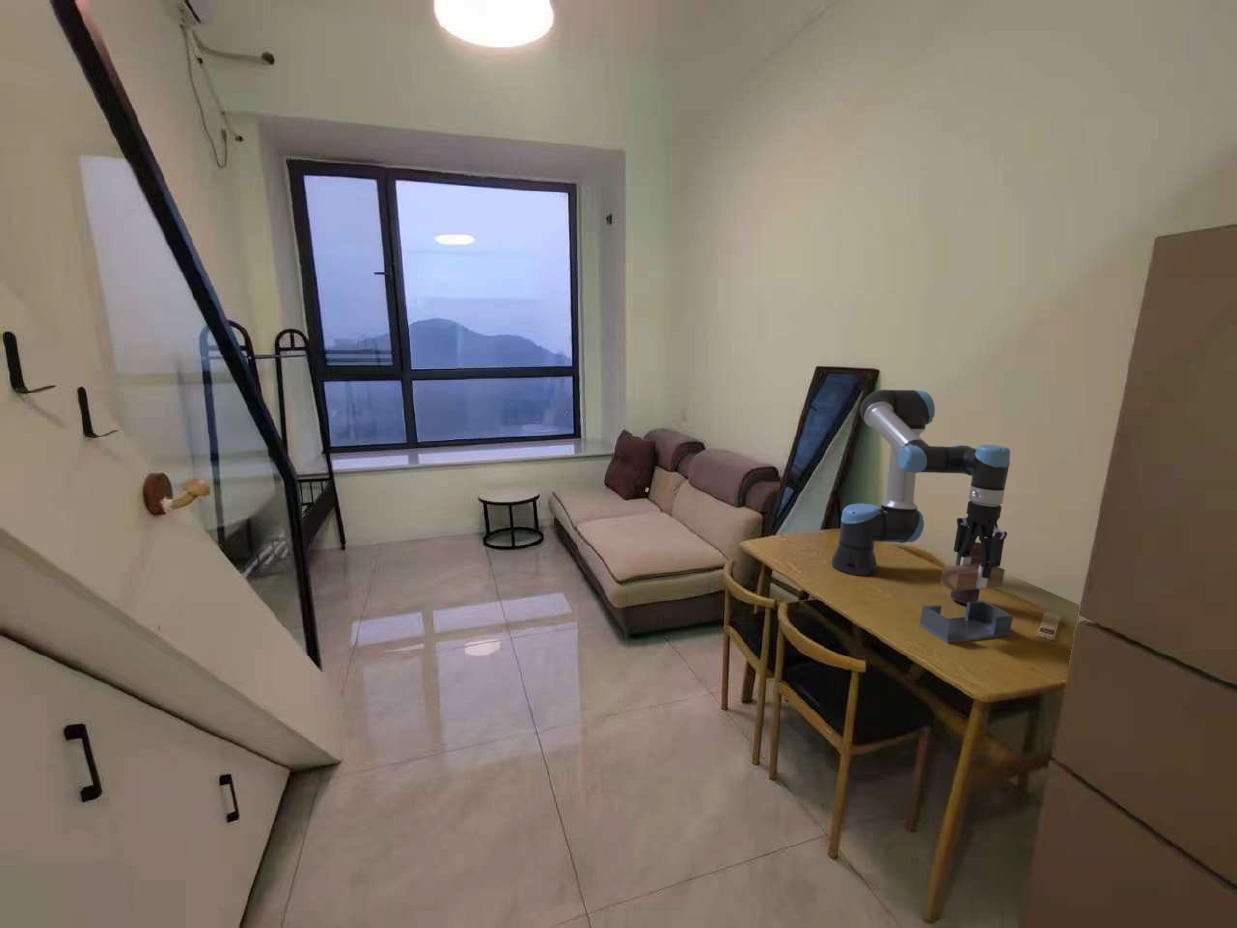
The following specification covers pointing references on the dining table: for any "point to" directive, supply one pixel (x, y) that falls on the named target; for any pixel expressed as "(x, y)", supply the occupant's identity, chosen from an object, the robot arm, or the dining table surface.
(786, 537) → the dining table surface
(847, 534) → the robot arm
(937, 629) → the bracket plate
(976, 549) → the candle
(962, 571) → the rail bar
